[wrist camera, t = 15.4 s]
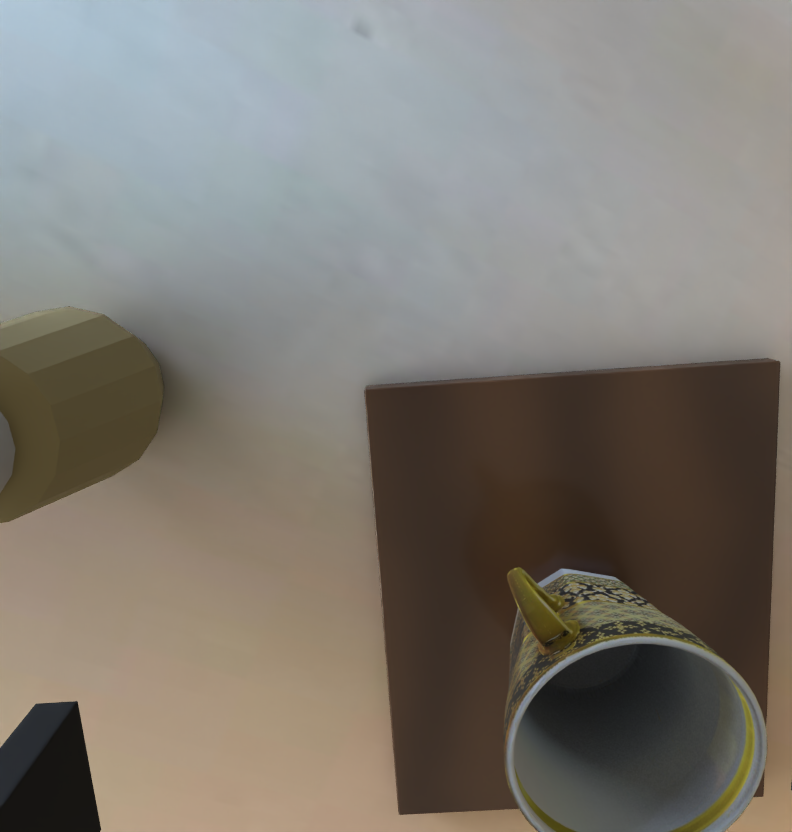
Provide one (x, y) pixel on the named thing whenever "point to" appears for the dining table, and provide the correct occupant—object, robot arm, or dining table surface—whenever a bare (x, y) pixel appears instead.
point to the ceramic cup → (622, 714)
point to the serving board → (559, 535)
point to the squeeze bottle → (71, 405)
